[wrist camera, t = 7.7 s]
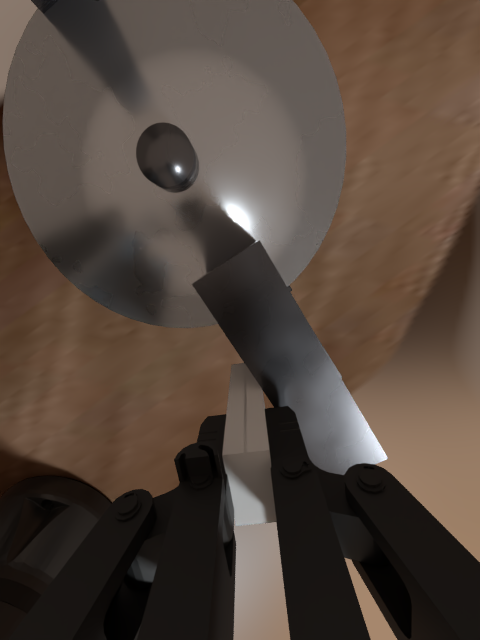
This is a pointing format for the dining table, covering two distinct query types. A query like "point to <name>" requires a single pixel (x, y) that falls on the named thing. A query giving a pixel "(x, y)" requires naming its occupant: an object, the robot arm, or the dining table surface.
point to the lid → (190, 179)
